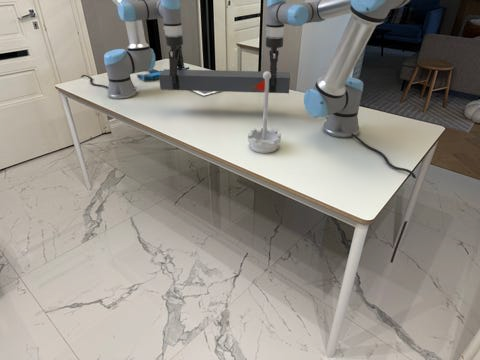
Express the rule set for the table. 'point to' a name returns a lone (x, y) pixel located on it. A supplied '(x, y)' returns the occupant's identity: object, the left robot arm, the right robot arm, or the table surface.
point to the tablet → (206, 92)
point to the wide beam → (222, 81)
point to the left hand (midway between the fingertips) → (178, 85)
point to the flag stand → (264, 125)
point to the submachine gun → (153, 74)
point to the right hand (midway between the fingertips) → (272, 88)
